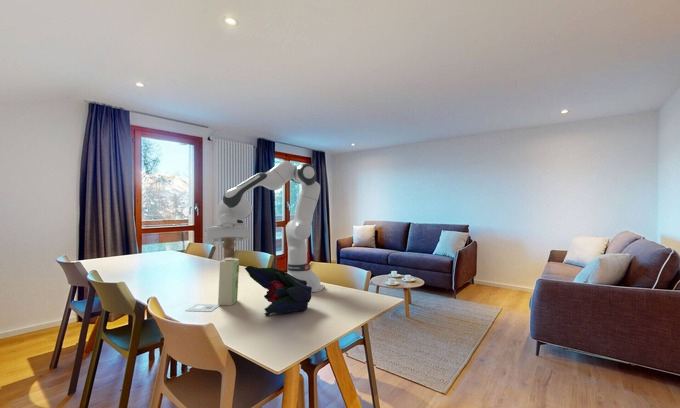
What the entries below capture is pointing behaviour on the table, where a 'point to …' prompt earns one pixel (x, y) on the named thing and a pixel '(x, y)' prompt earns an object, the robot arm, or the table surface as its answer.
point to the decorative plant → (281, 290)
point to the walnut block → (228, 247)
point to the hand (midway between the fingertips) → (229, 246)
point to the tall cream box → (228, 281)
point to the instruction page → (203, 307)
